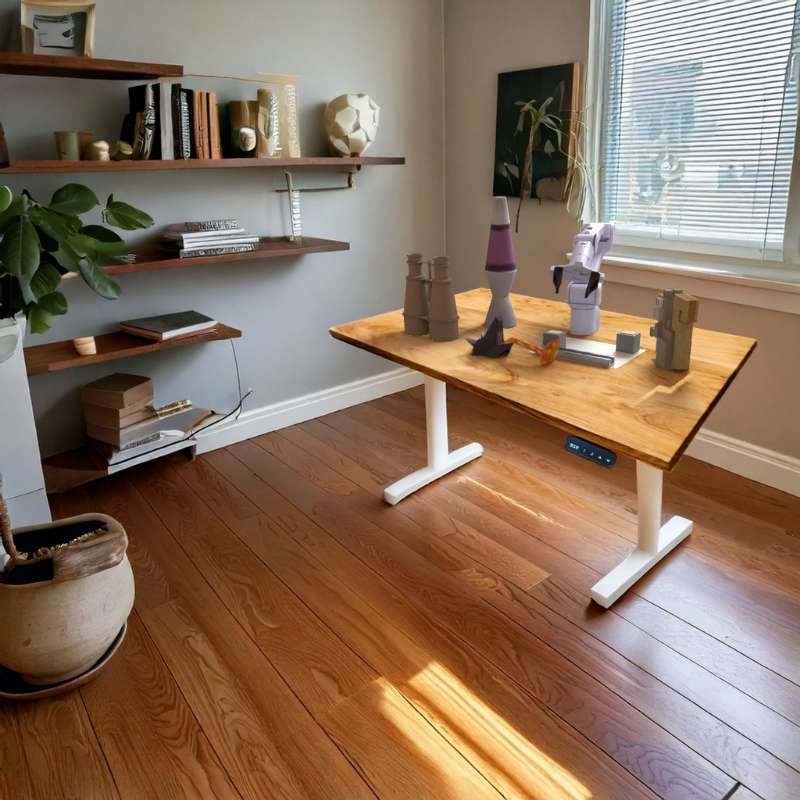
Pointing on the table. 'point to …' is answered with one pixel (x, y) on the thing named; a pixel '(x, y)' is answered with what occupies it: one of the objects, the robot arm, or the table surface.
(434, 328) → the binoculars
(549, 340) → the mounted module
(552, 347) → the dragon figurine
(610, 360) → the rail
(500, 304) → the lamp
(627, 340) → the block
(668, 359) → the toy
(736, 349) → the table surface
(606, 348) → the panel
